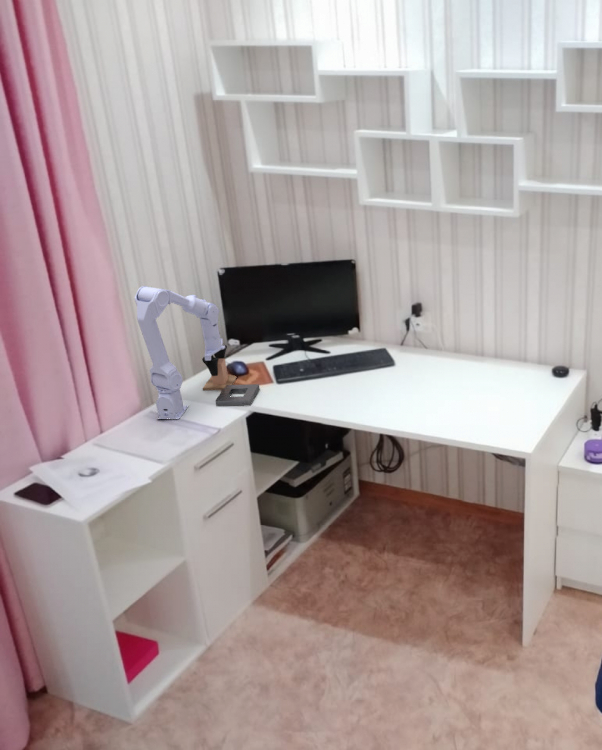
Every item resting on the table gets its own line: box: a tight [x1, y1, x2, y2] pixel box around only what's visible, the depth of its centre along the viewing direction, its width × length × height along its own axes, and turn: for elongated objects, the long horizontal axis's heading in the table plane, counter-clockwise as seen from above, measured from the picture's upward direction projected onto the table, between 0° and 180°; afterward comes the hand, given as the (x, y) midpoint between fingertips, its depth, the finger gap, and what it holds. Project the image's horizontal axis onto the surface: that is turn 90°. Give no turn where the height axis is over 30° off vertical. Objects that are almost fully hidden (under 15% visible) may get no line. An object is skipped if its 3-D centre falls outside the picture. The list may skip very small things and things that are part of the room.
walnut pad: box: [202, 375, 238, 391], centre depth 311 cm, size 10×10×1 cm
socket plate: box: [215, 383, 261, 407], centre depth 298 cm, size 12×12×2 cm
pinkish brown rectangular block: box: [210, 357, 229, 385], centre depth 309 cm, size 4×4×8 cm
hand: (218, 370), depth 309 cm, fingers open, 7 cm apart
